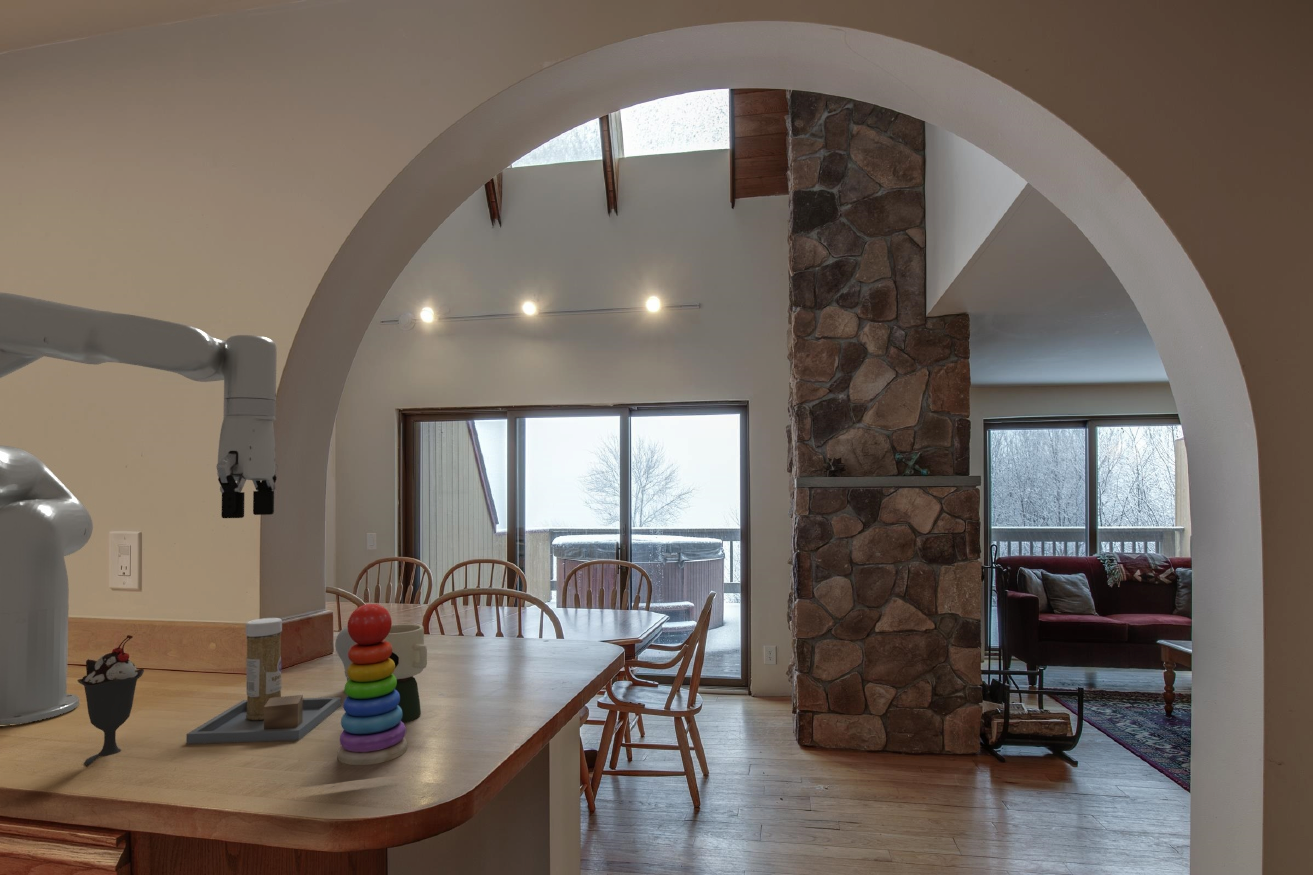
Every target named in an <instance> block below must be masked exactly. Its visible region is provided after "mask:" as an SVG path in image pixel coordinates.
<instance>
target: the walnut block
mask: <svg viewBox="0 0 1313 875" xmlns="http://www.w3.org/2000/svg"><path fill="white" fill-rule="evenodd" d="M303 695H304V694H297V695H287V696H281V697H275V698H270V699H269V700H268V702H267V703H266V705H265V706H264V729H295V728H297V727H298V726H299V725H301V724H302V722H303V698H304V697H303Z"/></svg>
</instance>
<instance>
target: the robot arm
mask: <svg viewBox="0 0 1313 875" xmlns="http://www.w3.org/2000/svg"><path fill="white" fill-rule="evenodd" d="M43 357H46V358H53V359H58V360H63V361H64V360H65V361H70V362H73V363H74V362H75V363H80V364H85V365H94V366H95V365H96V366H97V365H101V364H104V363H118V364H126V365H132V366H133V365H134V366H137V367H138V366H139V367H145V368H149V369H156V370H161V371H164V372H165V371H166V372H170V373H175V374H178V375H180V376H182V377H184V378H187V379H189V380H191V381H195V382H201V383H207V382H209V383H211V382H219V381H223V419H222V424H221V427H220V434H219V441H218V452H217V453H218V454H217V464H216V465H215V466H216V467H215V468H216V471H217V473H216V474H217V477H218V478H217V480H218V483H219V485H220V488H219V491H220V492H221V514H220V515H221V518H222V519H243V518H244V517H245V492H244V491H243V488H244V486H245V484H246V482H247V480H248V481H252V484H253V485H254V488H255V490H253V494H252V501H253V502H252V513H253V515H254V516H255V515H256V516H262V515H263V516H267V515H269V516H271V515H274V513H275V490H276V481H277V479H278V477H277V474H278V471H279V470H278V469H279V468H278V467H279V466H278V464H277V463H276V462H277V461H276V460H277V459H276V438H275V428H274V422H276V421H277V346H276V342H275V341H274V340H273V339H270V338H269V337H265V336H259V335H253V334H252V335H251V334H237V335H232V336H230V337H228V338H227V339H225V340H224V339H219V338H215V337H212V336H210V334H208V333H206V331H203V330H202V329H200V328H197V327H194V326H190V325H186V324H182V323H179V322H178V323H177V322H171V321H167V320H164V319H163V320H161V319H157V318H152V317H147V316H141V315H135V314H134V315H133V314H130V313H129V314H126V313H119V312H112V311H108V310H107V311H104V310H99V309H92V308H88V307H82V306H77V305H71V304H65V303H61V302H56V301H52V300H51V301H50V300H46V299H42V298H36V297H30V296H26V295H20V294H14V293H7V292H0V379H2V378H3V377H7V376H8V375H10V374H12V373H14V372H16V371H18V370H20V369H22V368H24V367H26V366H28V365H30V364H32V363H34V362H36V361H38V360H40V359H41V358H43ZM242 491H243V492H242ZM92 519H93V518H92V516H91V515H90V512H89V511H88V509H87V508H86V507H85V506H84V505H83V503H82V502H81V501H80V500H79V499H78V498H77V497H76V495H74V493H72V492H71V490H69V488H68V487H67V486H66V485H65V484H64V483H63V482H62V481H61V480H60V478H58V477H57V476H56V475H55V473H54V472H52V470H51V469H50V468H49V467H48V466H47V465H46V463H44V462H43V461H41V459H39V458H38V457H37V456H36V455H33V454H32V453H30V452H29V451H27V450H24V449H23V448H22V449H21V448H19V447H14V446H11V445H10V446H9V445H0V725H10V724H18V725H21V724H20V723H25V724H28V723H27V722H30V723H33V722H32V721H35V722H38V721H37V720H39V721H43V720H42V719H44V720H47V719H46V718H48V719H50V717H51V718H53V717H54V716H55V717H57V716H61V715H64V714H65V713H68V712H71V711H73V710H74V708H75V709H76V708H78V707H79V705H80V696H78V695H76V694H72V693H67V686H68V685H67V680H68V673H67V672H68V648H69V647H68V644H69V641H68V639H69V606H70V603H69V598H70V597H69V595H70V594H69V593H70V590H69V578H68V577H69V576H68V571H67V566H66V562H65V561H66V560H65V557H67V556H70V555H73V554H75V553H77V552H78V551H80V550H81V549H82V548H83V547H85V545H86V544H87V543H88V542H89V541H90V539H91V537H92V534H93V528H94V525H93V524H94V523H93V520H92ZM63 713H64V714H63ZM60 714H61V715H60ZM55 717H54V718H55Z"/></svg>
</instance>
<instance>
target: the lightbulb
mask: <svg viewBox="0 0 1313 875" xmlns="http://www.w3.org/2000/svg"><path fill="white" fill-rule="evenodd" d="M355 644H357V643H356V642H354V641H353V640H352V639H351V637H350V635H349V633H348V627H347V625H346V626H344V627H343V628H342V629H341V630H340V631H339V632H338V634H337V635H336V639H335V644H334V648H335V651H336V653H337V655H338V657H339V658H340V660H341V661H342V664H343V666H344V667H343V668H344V675H345V677H346V682H347V681H348V680H349V679H350V678H349V677H348V675H347V669H348V667H349V666H350V665H351V664H352V663H353V662H351V661H350V659H349V657H348V652H349V649H350V648H351V647H352V646H353V645H355Z"/></svg>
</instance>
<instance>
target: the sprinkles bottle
mask: <svg viewBox="0 0 1313 875" xmlns="http://www.w3.org/2000/svg"><path fill="white" fill-rule="evenodd" d="M282 632H283V620H282V618H280V617H263V618H257V619H252V620H249V621H247V622H246V623H245V636H246V637H245V638H246V659H245V660H246V661H245V662H246V698H247V699H246V700H247V714H246V718H247V719H249V720H264V706H265V705H266V703H267V702H268V700H269V699H270V698H275V697H282V692H281V691H282V657H281V653H282V652H281V649H282V648H281V646H282V644H281V641H282V640H281V639H282V638H281V635H282Z"/></svg>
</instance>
